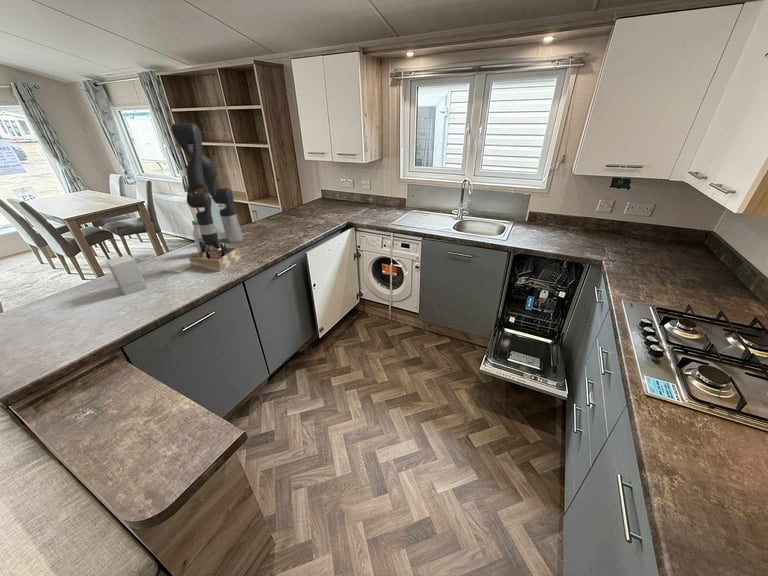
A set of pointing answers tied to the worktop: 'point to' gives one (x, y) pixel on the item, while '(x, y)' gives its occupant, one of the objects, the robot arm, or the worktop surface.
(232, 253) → the wooden shadow box
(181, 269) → the sage mat
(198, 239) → the milk bottle
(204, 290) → the worktop surface
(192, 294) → the worktop surface
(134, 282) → the supplement box
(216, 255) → the terracotta pot
